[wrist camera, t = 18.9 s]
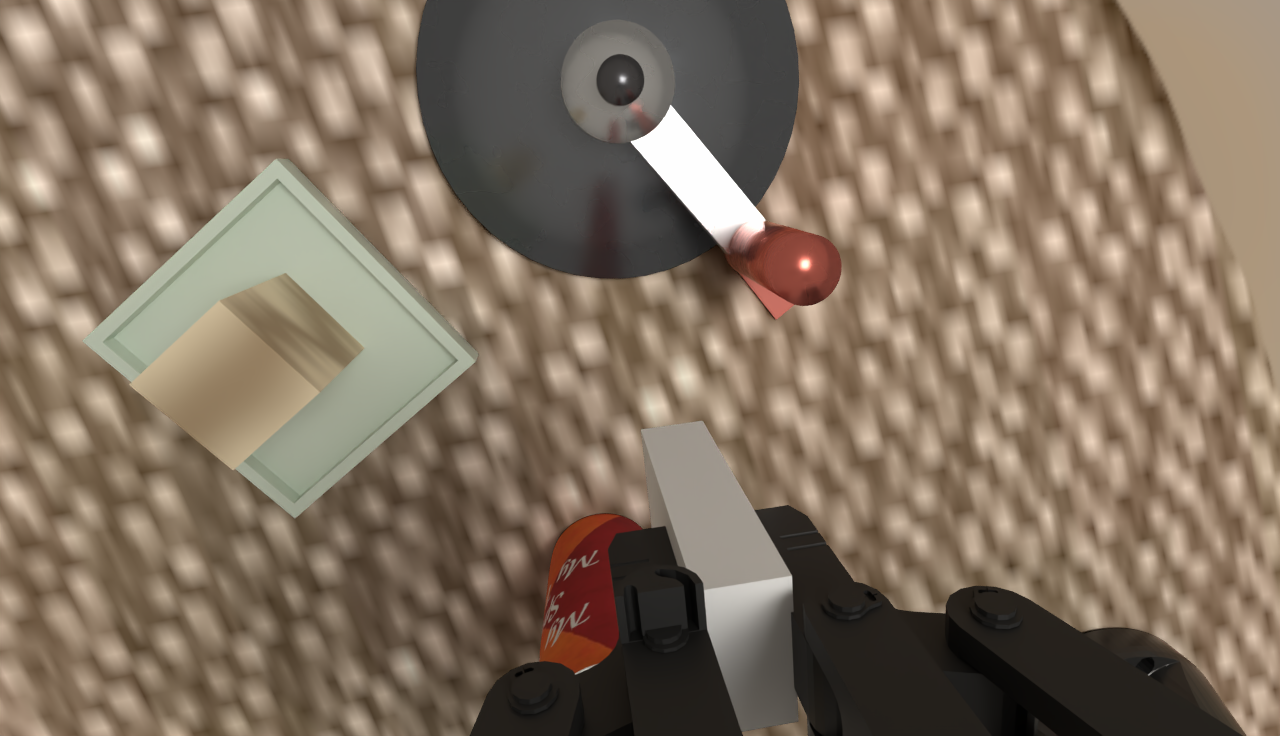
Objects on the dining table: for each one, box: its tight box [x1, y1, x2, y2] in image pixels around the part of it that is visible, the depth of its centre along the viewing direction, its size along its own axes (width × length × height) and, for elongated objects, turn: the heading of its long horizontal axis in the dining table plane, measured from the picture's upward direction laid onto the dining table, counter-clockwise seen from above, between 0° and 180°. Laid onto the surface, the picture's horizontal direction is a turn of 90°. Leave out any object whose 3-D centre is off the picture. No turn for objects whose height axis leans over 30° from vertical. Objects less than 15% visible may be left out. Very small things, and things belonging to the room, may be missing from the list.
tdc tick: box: [739, 273, 794, 319], centre depth 37 cm, size 4×1×1 cm, turn 40°
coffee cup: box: [539, 514, 642, 675], centre depth 33 cm, size 8×8×15 cm
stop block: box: [129, 273, 364, 470], centre depth 31 cm, size 5×5×7 cm
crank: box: [560, 20, 841, 306], centre depth 30 cm, size 14×5×9 cm, turn 42°
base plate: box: [416, 0, 799, 278], centre depth 31 cm, size 18×18×4 cm
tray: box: [83, 159, 479, 518], centre depth 34 cm, size 13×13×2 cm
